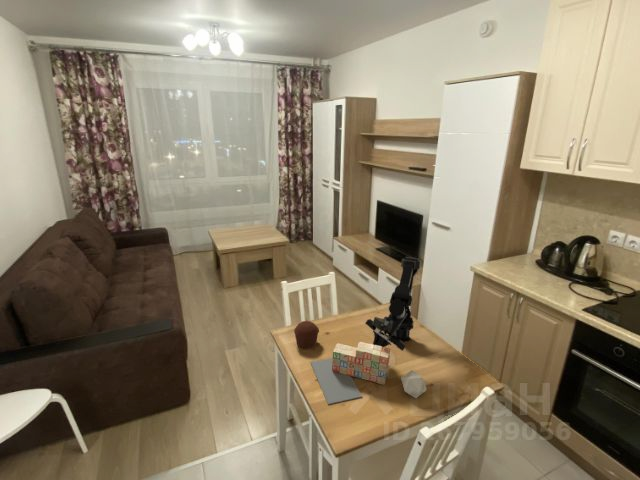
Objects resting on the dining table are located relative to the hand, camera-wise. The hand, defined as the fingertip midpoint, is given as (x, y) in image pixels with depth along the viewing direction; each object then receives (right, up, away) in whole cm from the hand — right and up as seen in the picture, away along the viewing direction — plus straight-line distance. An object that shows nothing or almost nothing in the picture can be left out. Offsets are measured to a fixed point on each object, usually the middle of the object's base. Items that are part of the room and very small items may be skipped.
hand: (372, 351), depth 136 cm
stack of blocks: (-5, -9, 0) cm, 10 cm away
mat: (-15, -9, -3) cm, 18 cm away
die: (+14, -12, -10) cm, 21 cm away
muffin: (-27, -3, +19) cm, 33 cm away
